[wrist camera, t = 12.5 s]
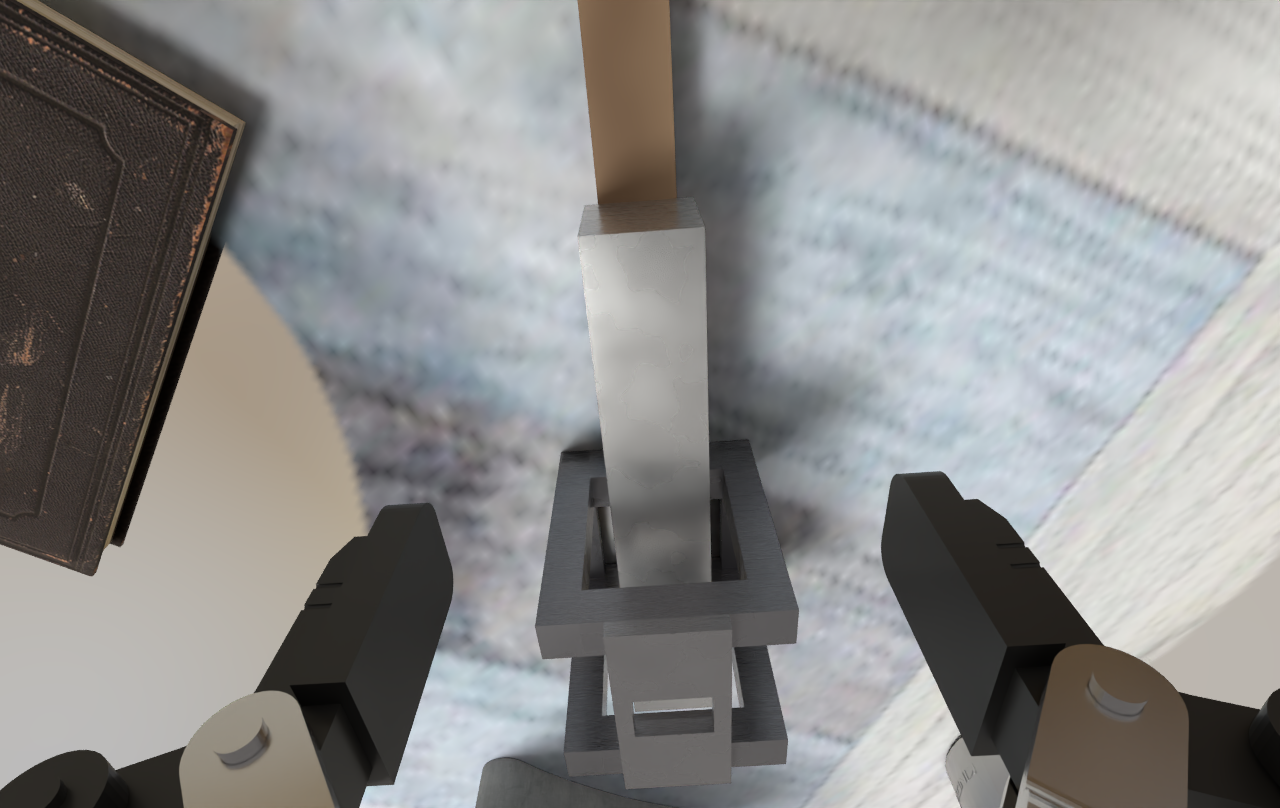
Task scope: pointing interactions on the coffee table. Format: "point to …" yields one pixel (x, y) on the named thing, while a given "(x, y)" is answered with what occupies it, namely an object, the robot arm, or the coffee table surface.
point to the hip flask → (541, 790)
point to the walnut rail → (630, 98)
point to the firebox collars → (668, 636)
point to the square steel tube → (652, 388)
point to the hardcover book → (94, 274)
